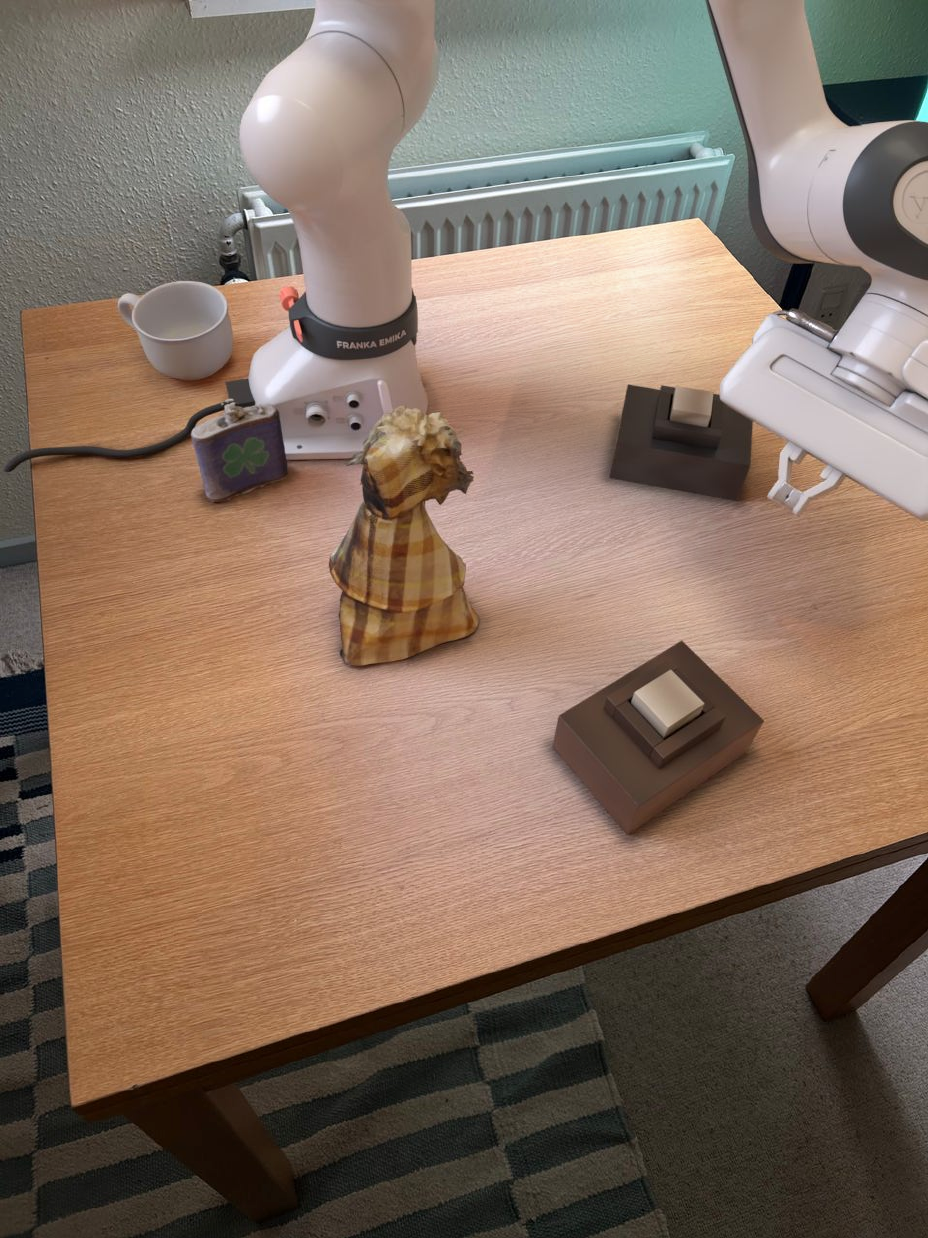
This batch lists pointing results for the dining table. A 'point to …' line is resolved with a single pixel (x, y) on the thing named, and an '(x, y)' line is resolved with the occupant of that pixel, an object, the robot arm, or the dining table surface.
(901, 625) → the dining table surface
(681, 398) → the key far
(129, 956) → the dining table surface
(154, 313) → the teacup
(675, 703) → the key near
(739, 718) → the push button box
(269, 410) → the flask
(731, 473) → the stepped block
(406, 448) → the plush toy
